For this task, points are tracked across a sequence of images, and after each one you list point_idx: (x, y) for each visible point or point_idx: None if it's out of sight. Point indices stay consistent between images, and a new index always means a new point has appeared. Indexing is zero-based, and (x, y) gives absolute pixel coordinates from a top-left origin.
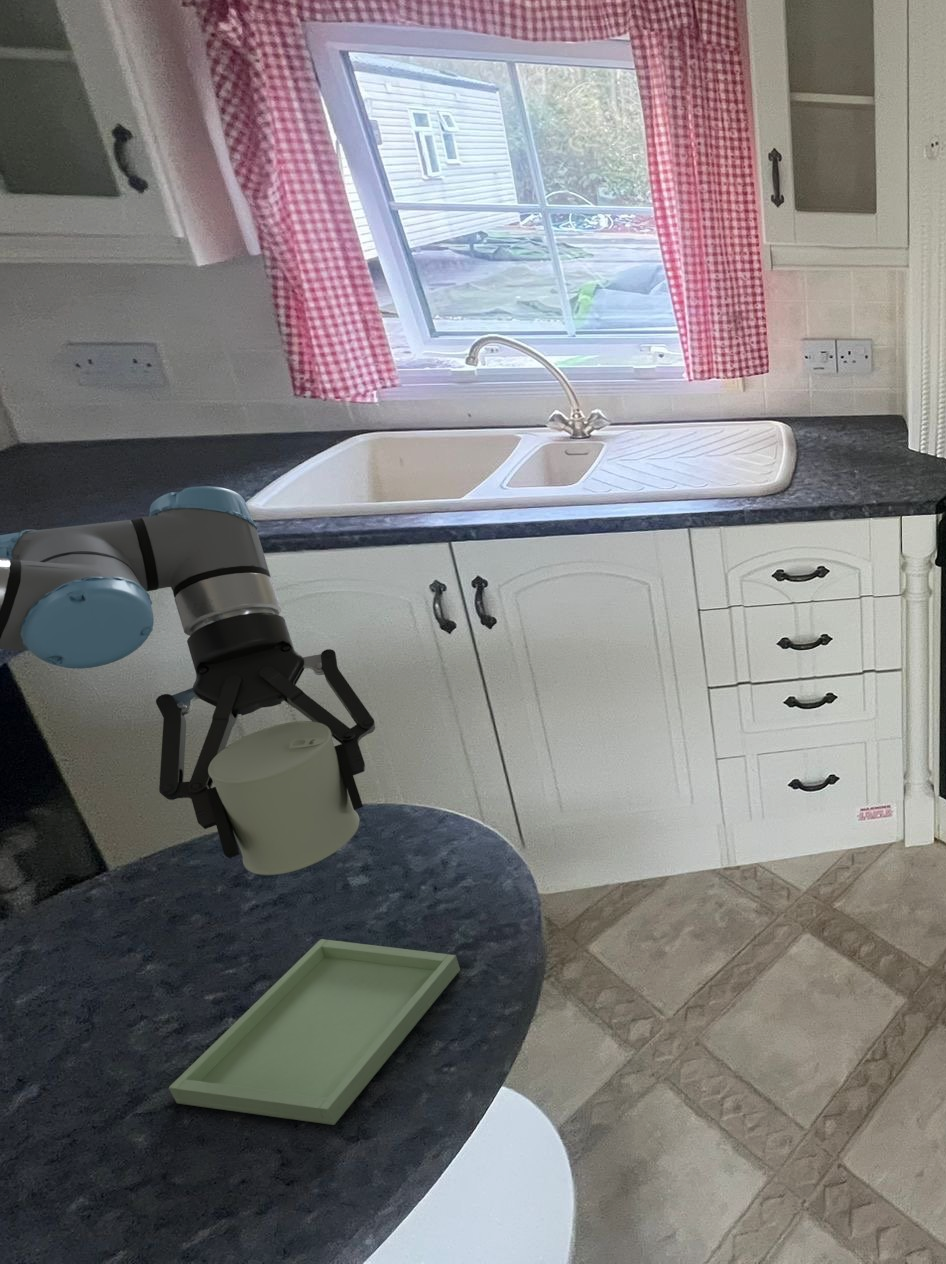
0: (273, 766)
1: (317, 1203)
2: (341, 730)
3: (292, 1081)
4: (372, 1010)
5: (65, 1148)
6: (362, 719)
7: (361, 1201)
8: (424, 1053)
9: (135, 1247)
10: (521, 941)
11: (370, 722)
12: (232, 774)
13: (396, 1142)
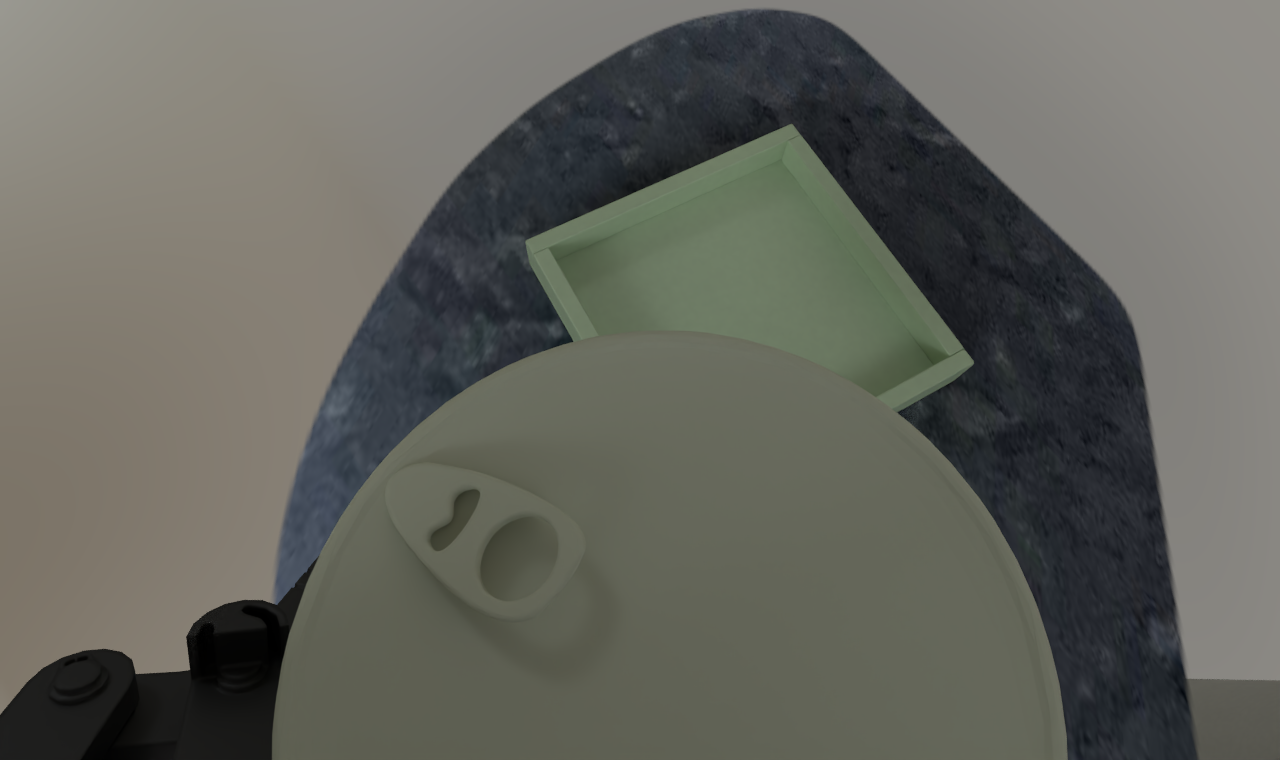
0: (722, 435)
1: (827, 70)
2: (232, 723)
3: (811, 254)
4: (674, 286)
5: (1095, 436)
6: (66, 718)
7: (787, 33)
8: (648, 159)
9: (1007, 186)
10: (423, 235)
11: (65, 669)
12: (934, 558)
13: (730, 67)
